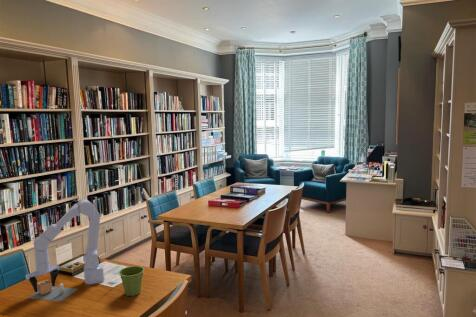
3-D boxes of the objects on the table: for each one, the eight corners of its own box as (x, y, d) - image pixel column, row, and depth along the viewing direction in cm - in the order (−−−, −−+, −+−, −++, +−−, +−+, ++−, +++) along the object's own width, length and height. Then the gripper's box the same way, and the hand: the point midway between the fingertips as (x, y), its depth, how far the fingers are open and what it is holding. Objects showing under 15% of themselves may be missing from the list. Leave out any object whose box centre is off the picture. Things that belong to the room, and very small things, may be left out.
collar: (48, 287, 171) (47, 279, 170) (52, 290, 167) (51, 282, 167) (37, 290, 167) (36, 283, 166) (41, 294, 164) (40, 286, 163)
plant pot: (150, 289, 171) (149, 267, 170) (133, 301, 161) (132, 277, 159) (131, 285, 176) (130, 264, 175) (114, 296, 166) (113, 273, 164)
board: (78, 291, 170) (77, 279, 170) (61, 304, 159) (60, 290, 158) (46, 288, 174) (45, 276, 173) (27, 301, 162) (26, 287, 162)
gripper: (55, 255, 174) (57, 280, 175) (22, 264, 163) (25, 291, 164) (60, 258, 169) (62, 285, 170) (27, 268, 158) (30, 296, 160)
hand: (44, 288), depth 167 cm, fingers open, 7 cm apart
